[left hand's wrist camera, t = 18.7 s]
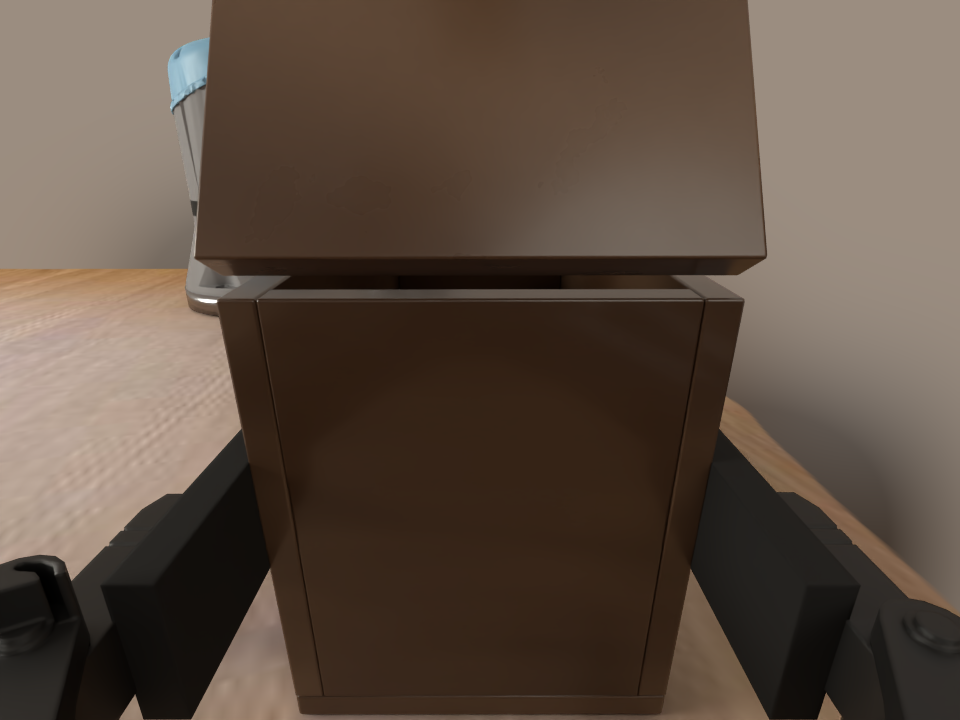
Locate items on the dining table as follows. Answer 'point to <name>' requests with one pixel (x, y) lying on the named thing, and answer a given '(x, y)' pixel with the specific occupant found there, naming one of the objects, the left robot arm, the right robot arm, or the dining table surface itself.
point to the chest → (480, 481)
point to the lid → (479, 139)
